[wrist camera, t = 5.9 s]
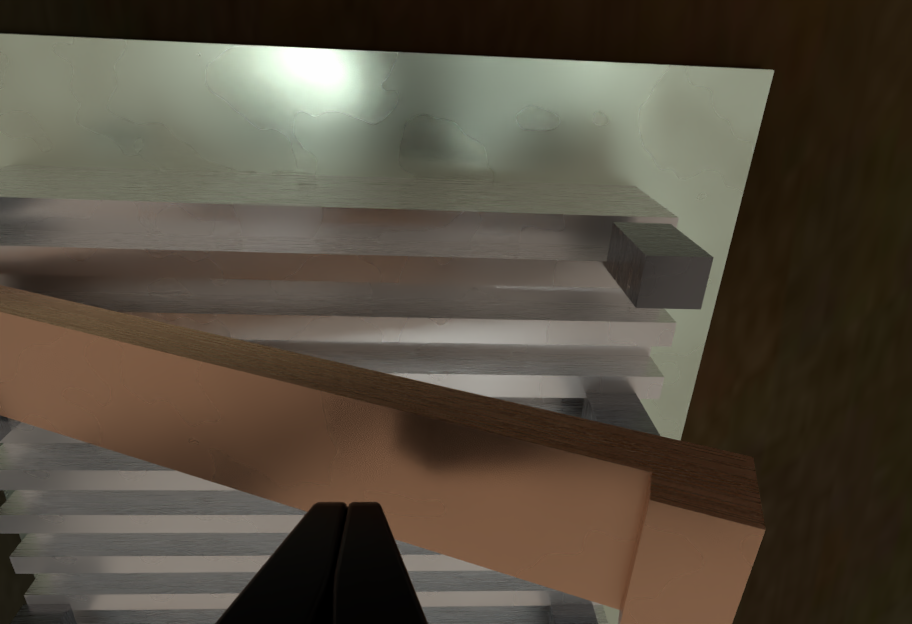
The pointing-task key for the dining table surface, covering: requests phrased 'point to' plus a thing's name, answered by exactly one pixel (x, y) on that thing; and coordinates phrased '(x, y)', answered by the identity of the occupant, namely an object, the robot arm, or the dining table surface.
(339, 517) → the robot arm
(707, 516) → the strap
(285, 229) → the heat sink board
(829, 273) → the dining table surface
